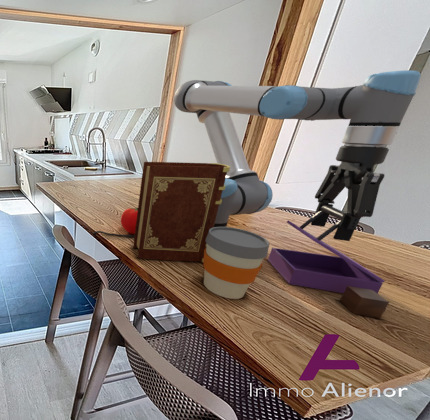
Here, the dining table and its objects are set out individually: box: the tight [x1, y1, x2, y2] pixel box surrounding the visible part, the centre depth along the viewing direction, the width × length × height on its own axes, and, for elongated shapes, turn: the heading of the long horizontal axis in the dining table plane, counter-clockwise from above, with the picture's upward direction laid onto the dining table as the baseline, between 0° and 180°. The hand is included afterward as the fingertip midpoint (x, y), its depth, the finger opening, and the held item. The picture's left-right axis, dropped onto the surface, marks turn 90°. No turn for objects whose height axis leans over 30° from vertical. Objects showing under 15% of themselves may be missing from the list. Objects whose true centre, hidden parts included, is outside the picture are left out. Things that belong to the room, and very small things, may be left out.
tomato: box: [120, 207, 138, 235], centre depth 96 cm, size 12×12×10 cm
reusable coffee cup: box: [202, 226, 270, 300], centre depth 62 cm, size 13×13×15 cm
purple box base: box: [267, 247, 384, 294], centre depth 68 cm, size 17×13×5 cm
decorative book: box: [132, 161, 230, 263], centre depth 76 cm, size 22×8×30 cm, turn 84°
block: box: [339, 286, 390, 319], centre depth 56 cm, size 4×4×4 cm
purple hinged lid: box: [286, 204, 385, 284], centre depth 64 cm, size 18×13×9 cm
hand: (328, 232), depth 65 cm, fingers closed on purple hinged lid, 9 cm apart
